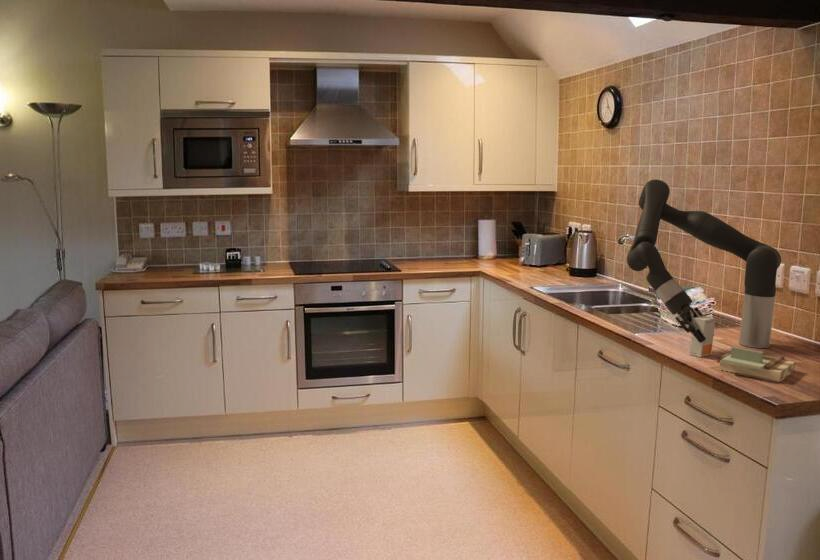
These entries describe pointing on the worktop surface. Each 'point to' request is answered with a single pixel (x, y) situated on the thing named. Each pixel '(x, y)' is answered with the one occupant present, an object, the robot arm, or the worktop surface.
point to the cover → (746, 358)
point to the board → (771, 372)
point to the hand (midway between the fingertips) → (707, 339)
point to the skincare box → (707, 330)
